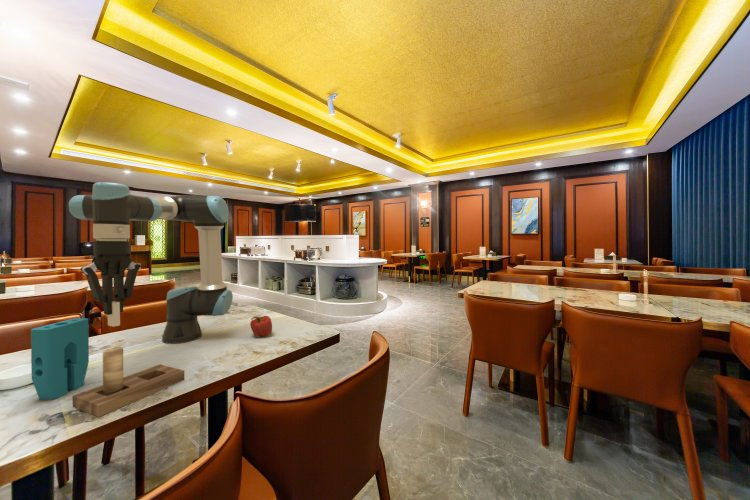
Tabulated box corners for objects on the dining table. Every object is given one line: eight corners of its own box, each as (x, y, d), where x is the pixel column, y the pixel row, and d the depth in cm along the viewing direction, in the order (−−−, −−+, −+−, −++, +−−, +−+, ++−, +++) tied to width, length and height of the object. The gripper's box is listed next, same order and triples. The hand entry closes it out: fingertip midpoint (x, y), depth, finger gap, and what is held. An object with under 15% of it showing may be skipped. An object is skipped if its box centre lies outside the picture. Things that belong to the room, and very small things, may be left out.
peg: (99, 402, 80) (99, 351, 79) (118, 395, 84) (117, 346, 83) (108, 406, 78) (108, 354, 78) (127, 398, 82) (127, 349, 82)
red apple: (257, 341, 131) (258, 319, 130) (243, 337, 136) (243, 315, 136) (277, 335, 140) (277, 314, 140) (263, 331, 145) (263, 311, 145)
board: (72, 406, 78) (72, 395, 78) (160, 373, 98) (160, 364, 98) (98, 417, 73) (98, 405, 73) (184, 379, 94) (184, 370, 93)
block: (74, 381, 91) (74, 318, 91) (90, 382, 91) (90, 318, 91) (29, 402, 79) (28, 329, 79) (48, 403, 79) (47, 329, 79)
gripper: (89, 240, 73) (91, 334, 73) (147, 240, 85) (148, 320, 86) (73, 239, 75) (75, 330, 76) (131, 240, 87) (132, 317, 88)
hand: (114, 325), depth 81 cm, fingers closed
